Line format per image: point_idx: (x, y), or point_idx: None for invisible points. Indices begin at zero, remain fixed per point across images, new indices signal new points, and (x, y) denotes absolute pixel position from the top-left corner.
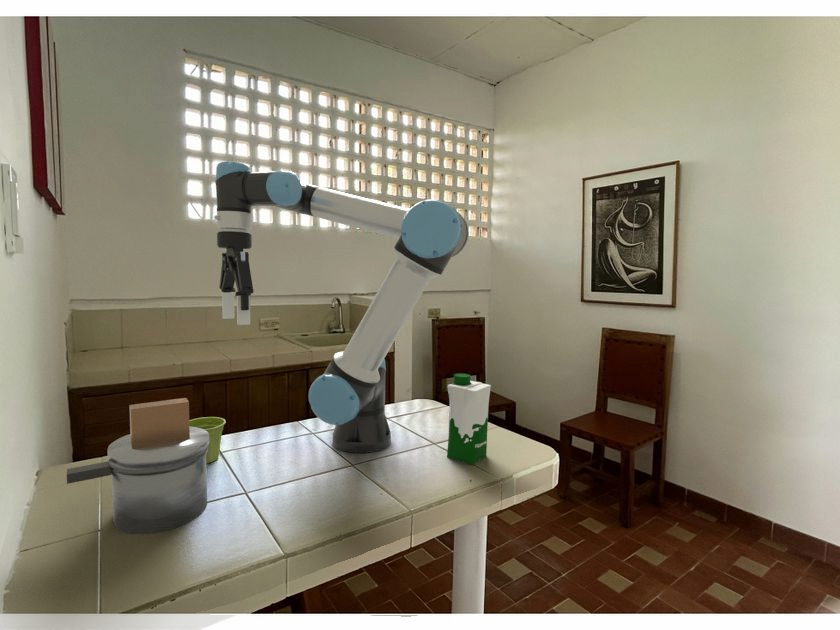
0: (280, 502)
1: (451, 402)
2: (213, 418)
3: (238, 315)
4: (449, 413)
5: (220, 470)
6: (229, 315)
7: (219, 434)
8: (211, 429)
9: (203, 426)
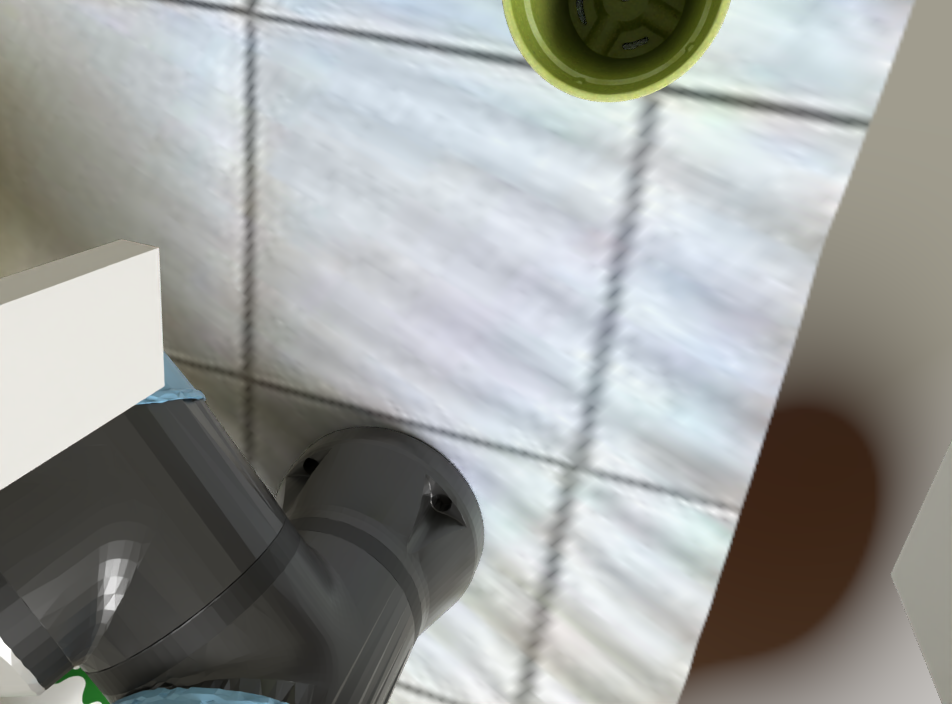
0: (142, 73)
1: (5, 701)
2: (678, 66)
3: (22, 278)
4: (64, 682)
5: (472, 10)
6: (936, 541)
7: (549, 46)
8: None
9: (702, 13)
